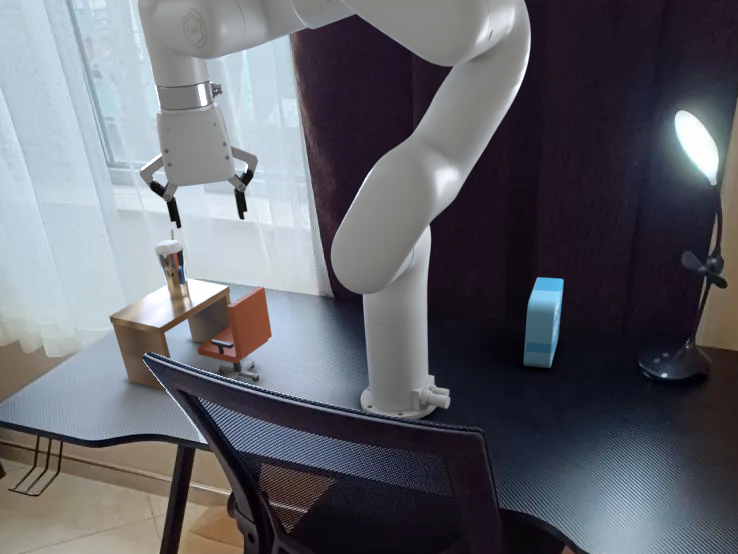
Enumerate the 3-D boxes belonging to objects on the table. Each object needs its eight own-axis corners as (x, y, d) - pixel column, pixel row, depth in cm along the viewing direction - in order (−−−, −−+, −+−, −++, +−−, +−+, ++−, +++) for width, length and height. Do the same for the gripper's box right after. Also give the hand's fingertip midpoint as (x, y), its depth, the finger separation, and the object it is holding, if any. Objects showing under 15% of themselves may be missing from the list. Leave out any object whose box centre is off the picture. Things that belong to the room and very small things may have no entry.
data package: (549, 371, 133) (555, 304, 125) (523, 369, 134) (527, 302, 127) (558, 340, 142) (564, 275, 134) (533, 338, 143) (538, 274, 135)
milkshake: (197, 287, 137) (185, 229, 131) (188, 299, 133) (175, 240, 126) (172, 287, 137) (159, 229, 131) (162, 299, 133) (148, 240, 127)
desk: (240, 349, 144) (229, 286, 137) (176, 393, 132) (159, 327, 125) (194, 338, 149) (180, 276, 141) (128, 381, 137) (108, 316, 129)
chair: (279, 371, 137) (265, 286, 127) (247, 395, 131) (231, 308, 121) (236, 361, 141) (220, 277, 131) (203, 384, 134) (184, 298, 125)
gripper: (243, 85, 114) (262, 207, 125) (122, 99, 111) (153, 221, 122) (249, 95, 109) (269, 221, 119) (122, 109, 106) (154, 237, 117)
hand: (210, 221), depth 121 cm, fingers open, 9 cm apart
